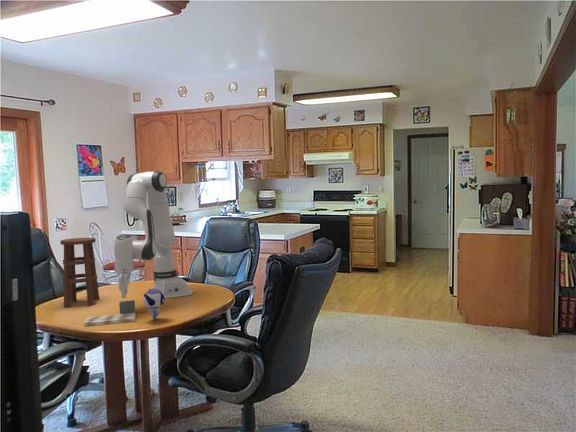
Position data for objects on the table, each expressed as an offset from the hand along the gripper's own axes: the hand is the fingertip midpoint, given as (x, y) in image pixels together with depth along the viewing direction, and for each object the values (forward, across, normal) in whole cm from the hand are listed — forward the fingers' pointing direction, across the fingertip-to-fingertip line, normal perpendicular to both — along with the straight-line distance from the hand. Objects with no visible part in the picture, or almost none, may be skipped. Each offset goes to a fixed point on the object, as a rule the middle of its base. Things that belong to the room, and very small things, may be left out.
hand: (124, 296), depth 236 cm
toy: (+9, -17, -15) cm, 24 cm away
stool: (+10, +31, +24) cm, 40 cm away
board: (+9, -11, +6) cm, 15 cm away
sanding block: (+9, 0, -1) cm, 9 cm away
